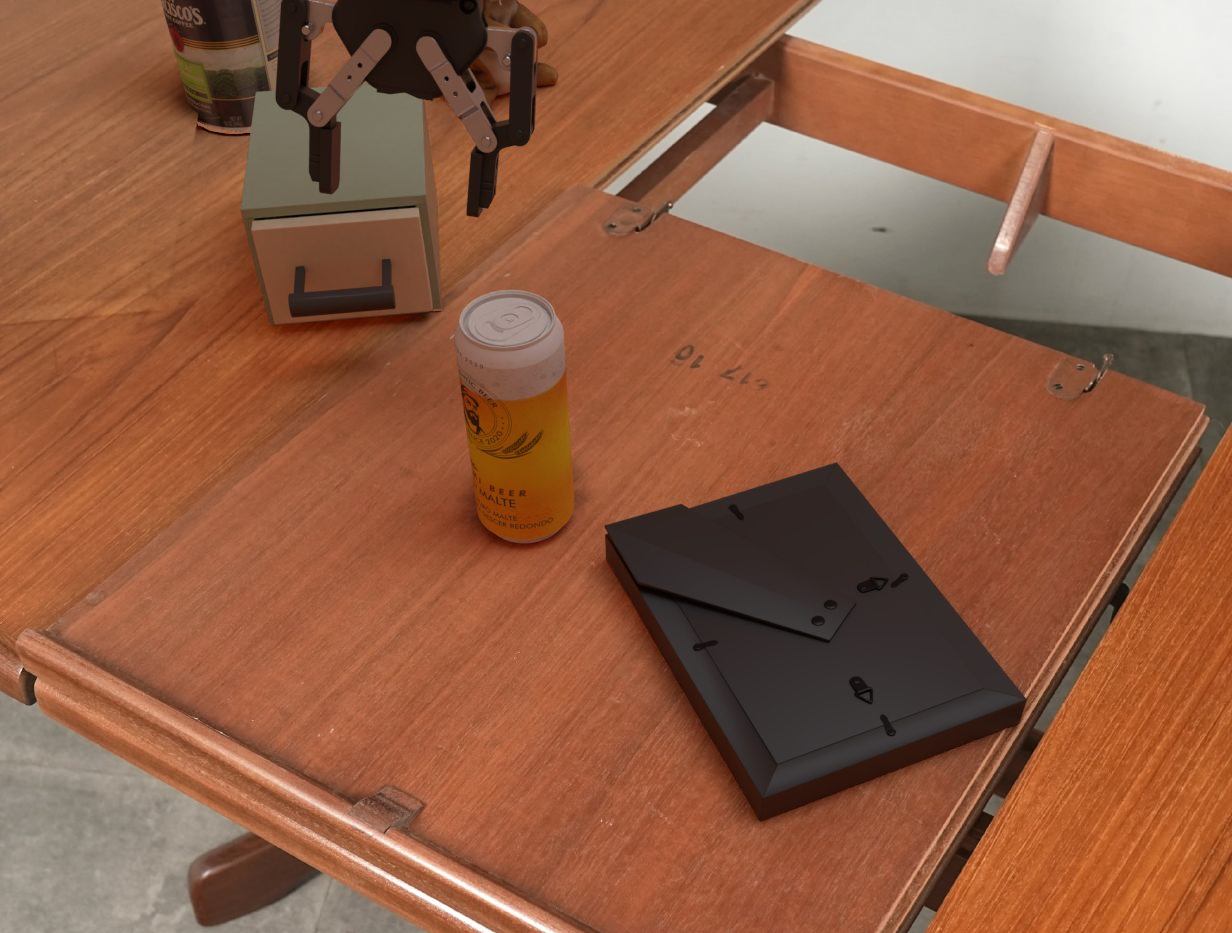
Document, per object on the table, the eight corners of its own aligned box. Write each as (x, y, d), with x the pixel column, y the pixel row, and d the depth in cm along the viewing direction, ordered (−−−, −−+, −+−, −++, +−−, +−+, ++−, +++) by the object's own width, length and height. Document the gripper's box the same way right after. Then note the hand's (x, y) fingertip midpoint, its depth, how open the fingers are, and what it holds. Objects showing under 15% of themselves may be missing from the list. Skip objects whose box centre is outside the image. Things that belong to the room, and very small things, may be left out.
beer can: (459, 512, 87) (430, 315, 75) (535, 469, 89) (517, 272, 78) (517, 564, 83) (495, 366, 72) (594, 518, 86) (585, 320, 75)
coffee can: (228, 149, 117) (186, -18, 107) (168, 106, 123) (122, -57, 112) (329, 107, 122) (298, -57, 111) (267, 67, 127) (232, -93, 117)
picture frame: (605, 558, 84) (760, 821, 71) (604, 525, 81) (763, 790, 68) (833, 486, 87) (1019, 723, 74) (837, 452, 85) (1030, 691, 72)
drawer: (434, 353, 96) (420, 257, 90) (270, 367, 95) (245, 272, 90) (428, 197, 110) (415, 105, 104) (285, 208, 109) (264, 117, 103)
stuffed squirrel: (478, 126, 119) (462, -29, 109) (396, 66, 127) (374, -83, 117) (572, 90, 123) (565, -62, 113) (487, 34, 131) (473, -113, 121)
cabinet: (442, 311, 101) (425, 194, 94) (269, 326, 100) (240, 209, 93) (436, 191, 112) (421, 78, 105) (281, 204, 111) (255, 91, 104)
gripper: (261, -127, 68) (262, 201, 76) (546, -82, 68) (515, 240, 77) (300, -136, 74) (297, 168, 83) (561, -95, 74) (531, 203, 83)
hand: (402, 202), depth 80 cm, fingers open, 8 cm apart
